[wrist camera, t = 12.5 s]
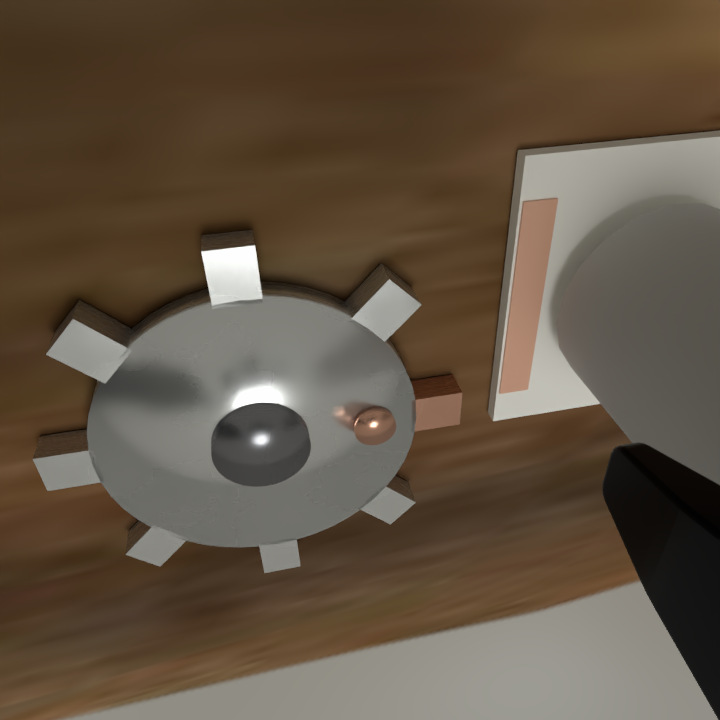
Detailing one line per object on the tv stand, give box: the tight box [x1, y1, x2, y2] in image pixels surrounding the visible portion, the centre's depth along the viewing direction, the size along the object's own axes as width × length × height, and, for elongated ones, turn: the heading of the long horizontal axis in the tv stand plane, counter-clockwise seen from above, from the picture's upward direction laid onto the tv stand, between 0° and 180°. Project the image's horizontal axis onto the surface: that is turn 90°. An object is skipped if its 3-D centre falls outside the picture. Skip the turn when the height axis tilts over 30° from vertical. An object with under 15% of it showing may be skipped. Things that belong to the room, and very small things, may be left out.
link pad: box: [488, 130, 720, 421], centre depth 24 cm, size 11×11×1 cm
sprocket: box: [33, 230, 462, 573], centre depth 23 cm, size 16×16×2 cm
